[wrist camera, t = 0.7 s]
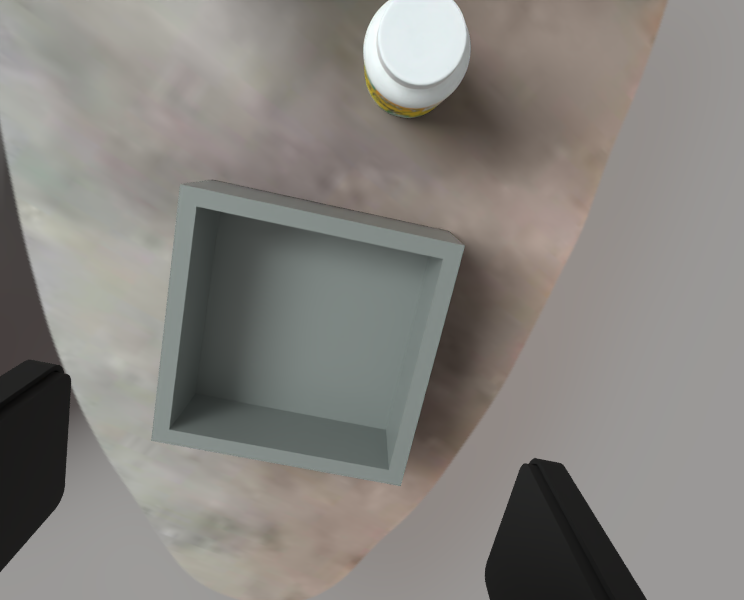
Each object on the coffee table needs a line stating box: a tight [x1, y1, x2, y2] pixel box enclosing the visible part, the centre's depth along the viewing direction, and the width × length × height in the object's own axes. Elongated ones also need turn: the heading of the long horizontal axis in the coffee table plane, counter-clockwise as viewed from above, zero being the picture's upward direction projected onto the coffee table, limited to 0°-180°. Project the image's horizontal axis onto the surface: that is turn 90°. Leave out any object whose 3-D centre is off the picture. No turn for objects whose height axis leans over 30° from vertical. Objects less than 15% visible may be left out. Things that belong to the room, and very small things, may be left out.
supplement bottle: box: [363, 0, 471, 118], centre depth 27 cm, size 5×5×10 cm
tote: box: [151, 180, 465, 486], centre depth 33 cm, size 16×16×6 cm
